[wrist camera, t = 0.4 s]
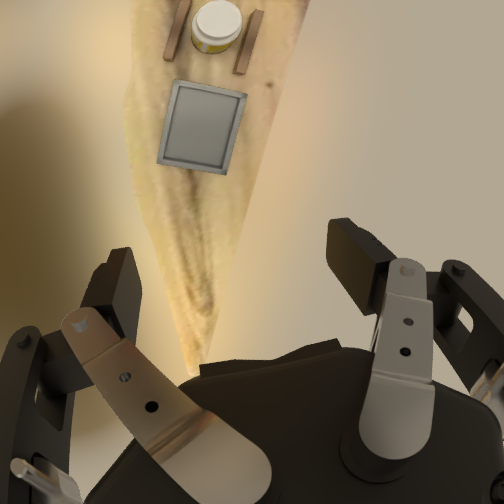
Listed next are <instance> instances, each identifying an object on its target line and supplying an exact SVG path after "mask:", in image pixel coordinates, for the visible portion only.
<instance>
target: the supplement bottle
mask: <svg viewBox="0 0 504 504" xmlns="http://www.w3.org/2000/svg"><path fill="white" fill-rule="evenodd" d="M241 27H242V16H241V12H240V10H239V9H238V8H237V6H235V5H234V4H233V3H231V2H228V1H225V0H214V1H211V2H208V3H206V4H205V5H203V6H202V7H201V9H200V10H199V11H198V12H197V13H196V14H195V16H194V18H193V20H192V29H191V39H192V42H193V45H194V46H195V47H196V48H197V49H198V50H199V51H201V52H203V53H207V54H218V53H221V52H223V51H225V50H226V49H227V48H228V47H229V46H230V45H231V44H232V43H233V41H234V40H235V39H236V38H237V36H238V35H239V33H240V31H241Z"/></svg>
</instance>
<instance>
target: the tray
mask: <svg viewBox="0 0 504 504" xmlns="http://www.w3.org/2000/svg"><path fill="white" fill-rule="evenodd" d="M246 98H247V94H244V93H240V92H236V91H232V90H228V89H223V88H219V87H214V86H209V85H204V84H199V83H193V82H188V81H182V80H176V79H175V81H174V85H173V89H172V93H171V97H170V101H169V106H168V110H167V114H166V119H165V123H164V128H163V133H162V138H161V143H160V148H159V153H158V158H157V164H162V165H169V166H175V167H181V168H187V169H193V170H199V171H205V172H210V173H216V174H221V175H226V174H227V170H228V166H229V162H230V158H231V154H232V150H233V146H234V142H235V139H236V135H237V131H238V127H239V124H240V120H241V116H242V112H243V109H244V105H245V102H246Z"/></svg>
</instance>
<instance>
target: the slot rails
mask: <svg viewBox="0 0 504 504" xmlns="http://www.w3.org/2000/svg"><path fill="white" fill-rule="evenodd" d="M191 3H192V0H181V2H180V4H179V7H178V10H177V13H176V16H175V19H174V22H173V25H172V28H171V31H170V34H169V38H168V41H167V44H166V47H165V51H164V54H163V59H164V60H165V61H172V62H173V59H174V56H175V52H176V49H177V46H178V42H179V39H180V36H181V33H182V29H183V26H184V23H185V20H186V17H187V14H188V11H189V9H190V6H191ZM263 14H264V11H260V10H257V9H255V10H254V11H253V13H252V14H251V16H250V19H249V22H248V25H247V28H246V31H245V34H244V38H243V41H242V44H241V47H240V51H239V54H238V57H237V61H236V64H235V68H234V71H233V74H238V75H243V74H245V73H246V69H247V66H248V63H249V59H250V56H251V52H252V49H253V46H254V43H255V39H256V36H257V33H258V30H259V26H260V23H261V20H262V17H263Z"/></svg>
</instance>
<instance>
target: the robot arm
mask: <svg viewBox="0 0 504 504" xmlns="http://www.w3.org/2000/svg"><path fill="white" fill-rule="evenodd" d="M326 259H327V263H328V266H329V267H330V269H331V270H332V271H333V273H334V274H335V275H336V277H337V278H338V280H339V281H340V282H341V284H342V285H343V287H344V288H345V289H346V291H347V292H348V294H349V295H350V296H351V298H352V299H353V301H354V302H355V304H356V305H357V306H358V308H359V309H360V311H361V312H362V313H363V315H364V316H367V315H371V314H375V313H376V314H377V319H376V322H375V327H374V332H373V336H372V340H371V345H370V348H369V351H367V350H363V349H359V348H349V347H341V345H340V343H339V341H338V339H337V338H335V339H332V340H327V341H323V342H319V343H315V344H310V345H306V346H304V347H301V348H299V349H297V350H295V351H292V352H290V353H288V354H286V355H284V356H281V357H279V358H277V359H274V360H236V359H234V360H228V361H221V362H215V363H209V364H201V365H199V368H200V375H199V376H197V377H194V378H192V379H190V380H188V381H186V382H184V383H183V384H181V385H180V386H179V387H177V386H175V385H174V384H173V383H172V382H171V381H170V380H169V379H168V378H167V377H166V376H165V375H163V373H162V372H161V371H160V370H159V369H157V368H156V367H155V366H154V365H153V364H152V363H151V362H150V361H149V360H148V359H147V358H146V357H145V356H144V355H143V354H142V353H141V352H140V351H139V350H138V349H137V347H136V346H135V344H136V335H137V327H138V319H139V312H140V305H141V298H142V286H141V280H140V277H139V274H138V270H137V267H136V263H135V260H134V256H133V253H132V250H131V248H130V247H125V248H119V249H112V250H111V252H110V255H109V257H108V260H107V263H102V264H101V265H100V266H99V267H98V268H97V269H96V270H95V271H94V272H93V275H92V277H91V281H90V282H89V285H88V288H87V290H86V292H85V295H84V297H83V300H82V303H81V306H80V308H78V309H76V310H74V311H72V312H70V313H69V314H68V315H67V316H66V317H65V318H64V319H63V321H62V323H61V330H58V331H55V332H53V333H50V334H47V335H44V336H42V334H41V333H40V331H39V329H38V328H37V327H35V326H26V327H23V328H21V329H19V330H18V331H16V332H15V333H14V334H13V336H11V338H10V340H9V342H8V344H7V347H6V349H5V352H4V354H3V357H2V360H1V362H0V504H504V447H503V441H504V300H503V299H502V298H501V297H500V296H499V294H498V293H497V292H495V291H494V289H493V288H492V287H490V285H489V284H487V282H485V281H484V280H483V279H482V278H481V277H480V276H479V275H478V274H477V273H476V272H475V271H474V270H473V269H472V268H471V267H470V266H468V265H467V264H465V263H463V262H461V261H457V260H446V261H445V262H444V263H443V265H442V269H441V271H440V272H426V270H425V268H424V267H423V266H422V265H421V264H420V263H419V262H417V261H414V260H412V259H408V258H397V257H396V256H395V255H394V254H393V253H392V252H391V251H390V250H389V249H388V248H387V247H385V246H384V245H382V243H381V242H380V241H379V240H377V238H376V237H375V236H374V235H373V234H371V233H370V232H369V231H367V230H364V229H362V228H360V227H358V226H357V225H356V224H354V223H353V222H352V221H351V220H350V219H349V218H338V219H331V220H330V221H329V223H328V233H327V247H326ZM462 306H463V307H464V309H465V310H466V311H467V312H468V313H469V314H470V316H471V317H472V319H473V324H474V325H473V330H472V332H471V333H470V332H469V331H468V330H467V328H466V327H465V326H464V325H463V324H462V322H461V321H460V320H459V319H458V315H459V313H460V311H461V308H462ZM433 339H434V341H435V342H436V344H437V345H438V346H439V348H440V349H441V351H442V352H443V354H444V355H445V356H446V358H447V359H448V361H449V362H450V364H451V365H452V367H453V368H454V370H455V371H456V373H457V374H458V376H459V378H460V379H461V381H462V382H463V384H464V385H465V387H466V388H467V390H468V392H469V393H470V396H468V395H465V394H463V393H461V392H459V391H456V390H454V389H452V388H449V387H447V386H445V385H443V384H440V383H438V382H436V381H434V380H432V379H431V378H432V361H433ZM92 385H95V386H96V388H97V389H98V391H99V392H100V393H101V395H102V396H103V398H104V399H105V400H106V402H107V403H108V404H109V406H110V407H111V408H112V410H113V411H114V412H115V414H116V415H117V416H118V418H119V419H120V420H121V421H122V422H123V424H124V425H125V426H126V428H127V429H128V430H129V431H130V433H131V434H132V435H133V436H134V437H135V438H134V439H133V440H132V441H131V443H130V444H129V445H128V446H127V447H126V449H125V450H124V451H123V453H122V454H121V455H120V456H119V457H118V459H117V460H116V461H115V462H114V464H113V465H112V466H111V467H110V469H109V470H108V471H107V472H106V473H105V475H104V476H103V477H102V478H101V480H100V481H99V482H98V483H97V484H96V486H95V487H94V488H93V489H92V490H91V492H90V493H89V494H88V496H87V497H86V499H85V501H84V503H83V502H82V499H81V497H80V490H79V487H78V485H77V483H76V482H75V480H74V479H73V478H72V477H70V476H69V453H70V437H71V425H72V415H73V406H74V398H75V391H77V390H81V389H84V388H87V387H90V386H92ZM36 388H37V389H38V393H37V398H36V403H35V393H36Z"/></svg>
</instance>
